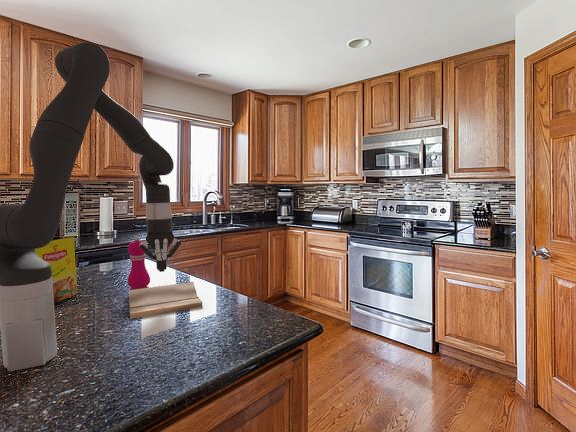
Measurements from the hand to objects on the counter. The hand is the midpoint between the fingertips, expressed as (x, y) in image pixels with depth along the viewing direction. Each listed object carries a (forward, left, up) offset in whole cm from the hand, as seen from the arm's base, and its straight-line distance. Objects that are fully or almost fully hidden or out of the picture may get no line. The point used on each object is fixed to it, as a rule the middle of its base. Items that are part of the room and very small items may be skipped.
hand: (161, 271), depth 109 cm
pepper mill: (+13, +6, -10) cm, 18 cm away
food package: (+17, +30, -10) cm, 36 cm away
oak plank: (-9, 0, -10) cm, 13 cm away
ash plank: (-2, 0, -8) cm, 8 cm away
